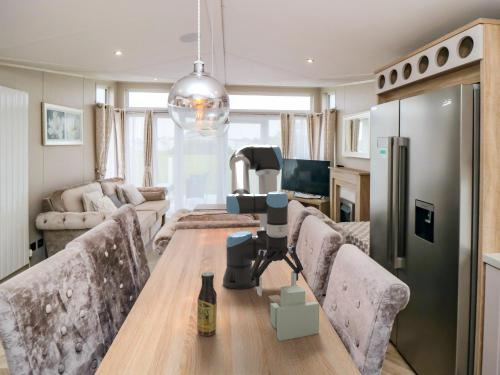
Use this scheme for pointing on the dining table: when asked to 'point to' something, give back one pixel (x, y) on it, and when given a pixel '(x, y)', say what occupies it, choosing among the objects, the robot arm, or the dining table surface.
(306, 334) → the pale green block
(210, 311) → the sauce bottle
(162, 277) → the dining table surface
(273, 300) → the brown boxy piece
